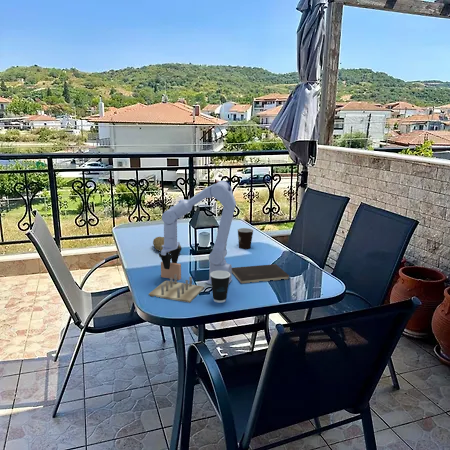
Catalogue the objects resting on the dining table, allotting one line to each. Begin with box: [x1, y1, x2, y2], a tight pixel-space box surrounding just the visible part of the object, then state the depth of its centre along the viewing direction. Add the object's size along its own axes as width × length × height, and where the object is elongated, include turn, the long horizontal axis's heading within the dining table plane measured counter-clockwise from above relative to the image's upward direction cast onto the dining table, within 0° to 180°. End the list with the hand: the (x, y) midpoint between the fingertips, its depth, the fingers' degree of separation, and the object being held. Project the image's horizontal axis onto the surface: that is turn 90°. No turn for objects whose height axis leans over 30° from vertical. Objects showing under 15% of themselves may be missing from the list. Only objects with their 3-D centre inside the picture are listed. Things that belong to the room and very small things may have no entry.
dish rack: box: [148, 274, 205, 304], centre depth 168 cm, size 18×15×5 cm
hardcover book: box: [232, 263, 290, 284], centre depth 189 cm, size 16×23×2 cm
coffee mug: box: [237, 227, 254, 250], centre depth 229 cm, size 12×9×10 cm
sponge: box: [152, 236, 182, 254], centre depth 219 cm, size 13×8×20 cm
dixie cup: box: [210, 271, 230, 304], centre depth 161 cm, size 8×8×11 cm
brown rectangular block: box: [160, 261, 182, 281], centre depth 183 cm, size 9×2×7 cm, turn 71°
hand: (170, 265), depth 182 cm, fingers open, 7 cm apart
